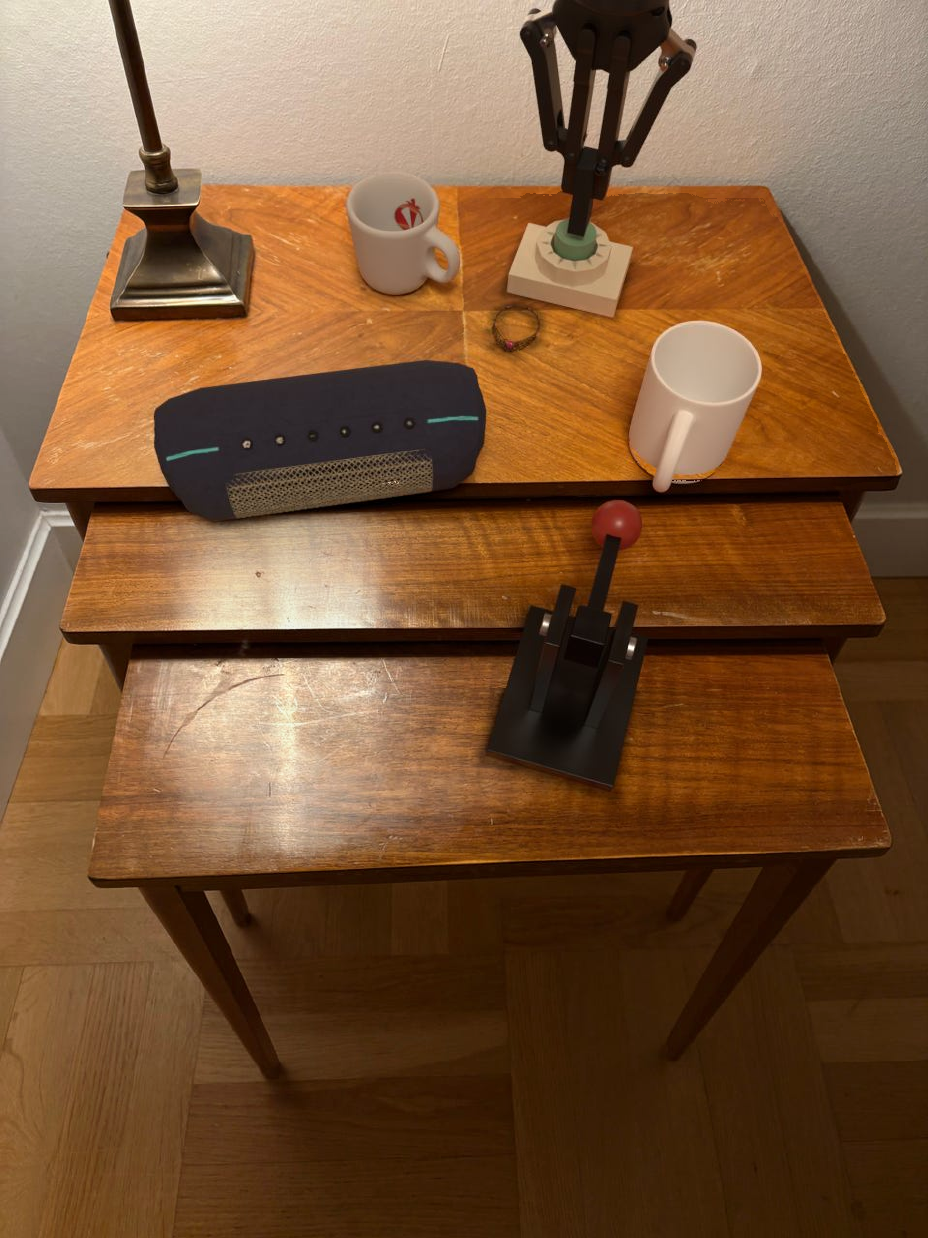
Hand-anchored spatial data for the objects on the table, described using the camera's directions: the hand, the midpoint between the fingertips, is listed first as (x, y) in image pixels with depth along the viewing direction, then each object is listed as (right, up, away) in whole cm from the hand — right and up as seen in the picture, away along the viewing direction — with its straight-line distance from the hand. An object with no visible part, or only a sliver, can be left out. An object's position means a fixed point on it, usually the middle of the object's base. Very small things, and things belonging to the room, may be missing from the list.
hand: (579, 224), depth 85 cm
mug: (+7, -22, -4) cm, 23 cm away
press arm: (-1, -33, -18) cm, 37 cm away
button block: (0, -3, +6) cm, 6 cm away
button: (0, -1, +2) cm, 3 cm away
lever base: (-2, -40, -14) cm, 42 cm away
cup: (-15, -3, +5) cm, 16 cm away
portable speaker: (-21, -23, -6) cm, 31 cm away
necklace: (-5, -9, +2) cm, 11 cm away
